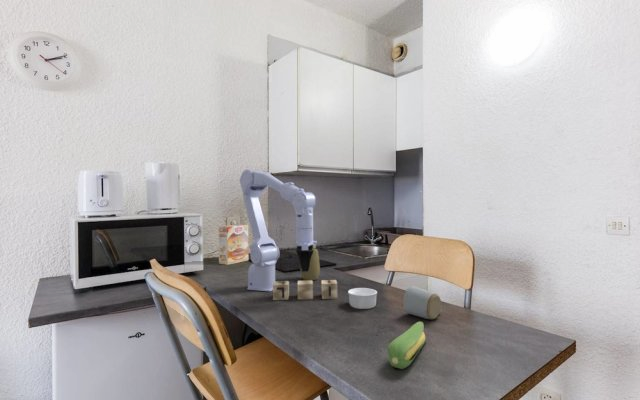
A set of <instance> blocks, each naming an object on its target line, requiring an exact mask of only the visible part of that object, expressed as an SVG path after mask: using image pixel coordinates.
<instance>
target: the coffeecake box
mask: <svg viewBox="0 0 640 400" xmlns="http://www.w3.org/2000/svg"><path fill="white" fill-rule="evenodd" d="M248 261H249V224H243V223H242V224H241V223H240V224H239V223H238V224H230V225H227V224H226V225H218V264H219V265H220V264H221V265H225V266H228V265H233V264H237V263H243V262H248Z"/></svg>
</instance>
